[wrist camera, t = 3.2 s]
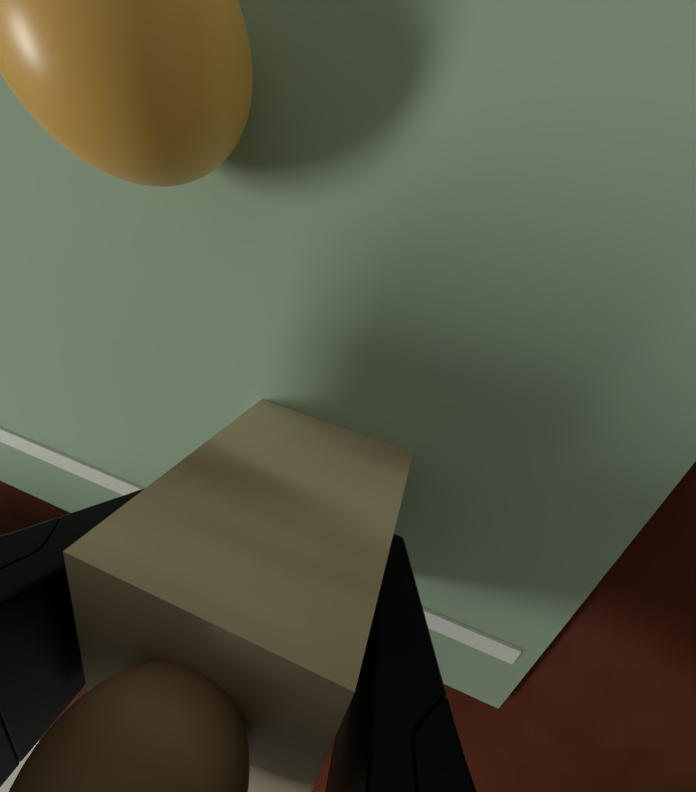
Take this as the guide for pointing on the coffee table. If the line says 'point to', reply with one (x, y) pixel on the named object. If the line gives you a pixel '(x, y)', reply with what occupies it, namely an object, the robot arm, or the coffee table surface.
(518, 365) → the pitch mat
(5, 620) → the robot arm
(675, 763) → the coffee table surface
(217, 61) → the ball
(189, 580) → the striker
